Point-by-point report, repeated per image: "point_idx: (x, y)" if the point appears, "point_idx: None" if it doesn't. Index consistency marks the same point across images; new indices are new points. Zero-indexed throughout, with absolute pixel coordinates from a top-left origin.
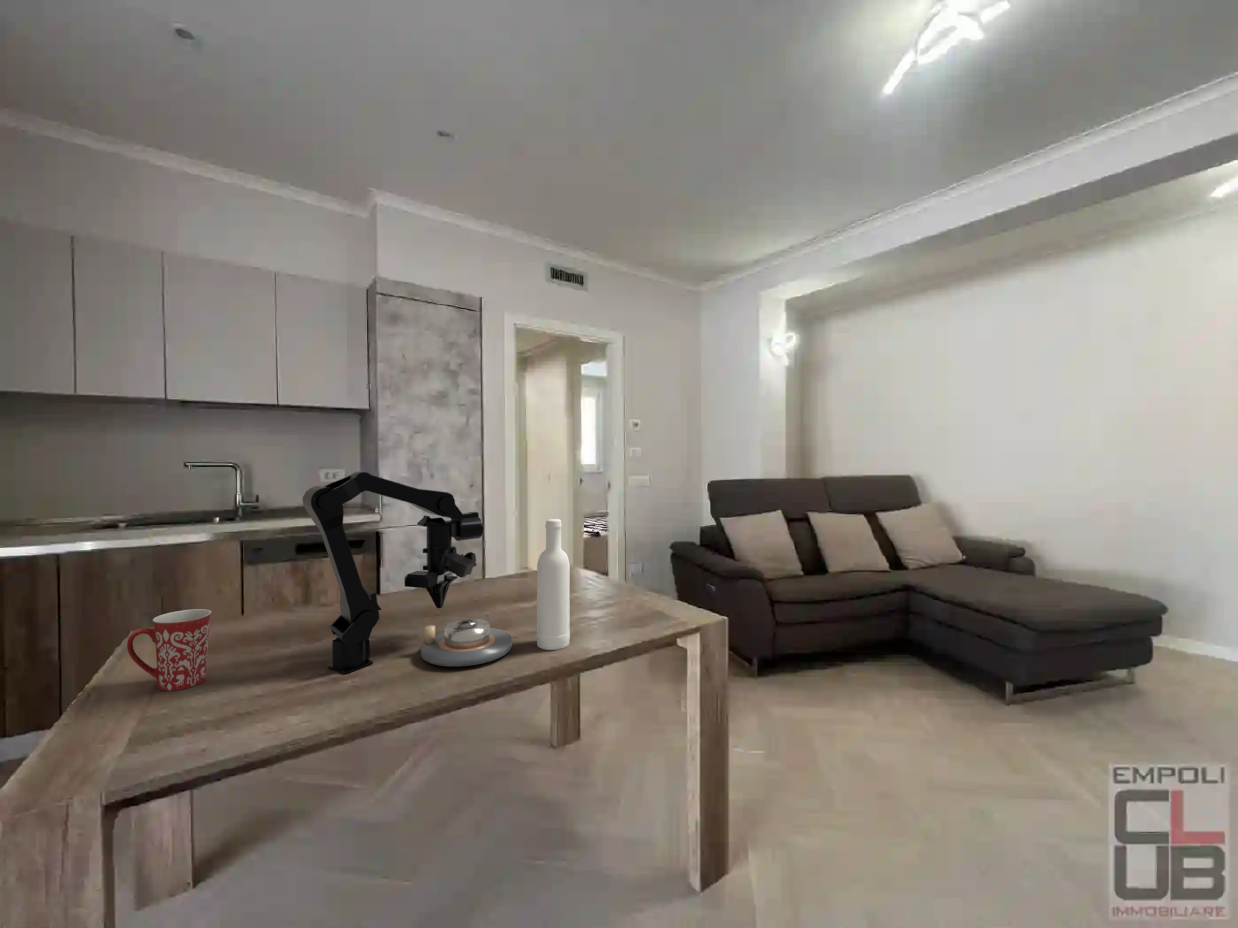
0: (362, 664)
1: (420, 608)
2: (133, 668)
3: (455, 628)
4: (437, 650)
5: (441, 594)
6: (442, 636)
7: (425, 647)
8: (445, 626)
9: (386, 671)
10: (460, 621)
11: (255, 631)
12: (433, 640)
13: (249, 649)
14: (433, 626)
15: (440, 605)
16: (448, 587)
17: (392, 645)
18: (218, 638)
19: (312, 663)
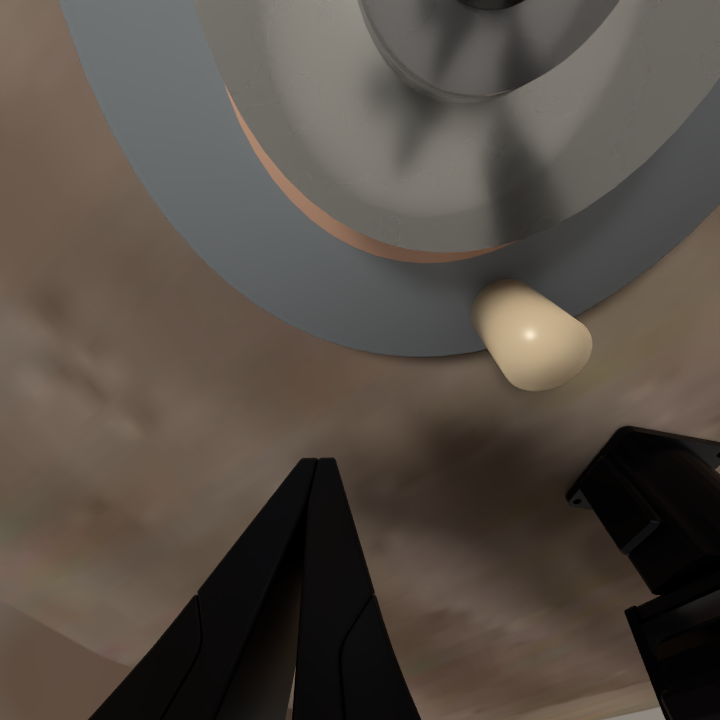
0: (663, 443)
1: (99, 569)
2: (618, 706)
3: (594, 62)
4: (661, 158)
5: (347, 616)
6: (395, 297)
7: (595, 278)
8: (529, 232)
9: (717, 334)
10: (508, 45)
11: (422, 691)
12: (520, 284)
13: (518, 661)
14: (531, 336)
15: (338, 476)
16: (100, 717)
17: (429, 467)
18: (470, 703)
19: (606, 553)
